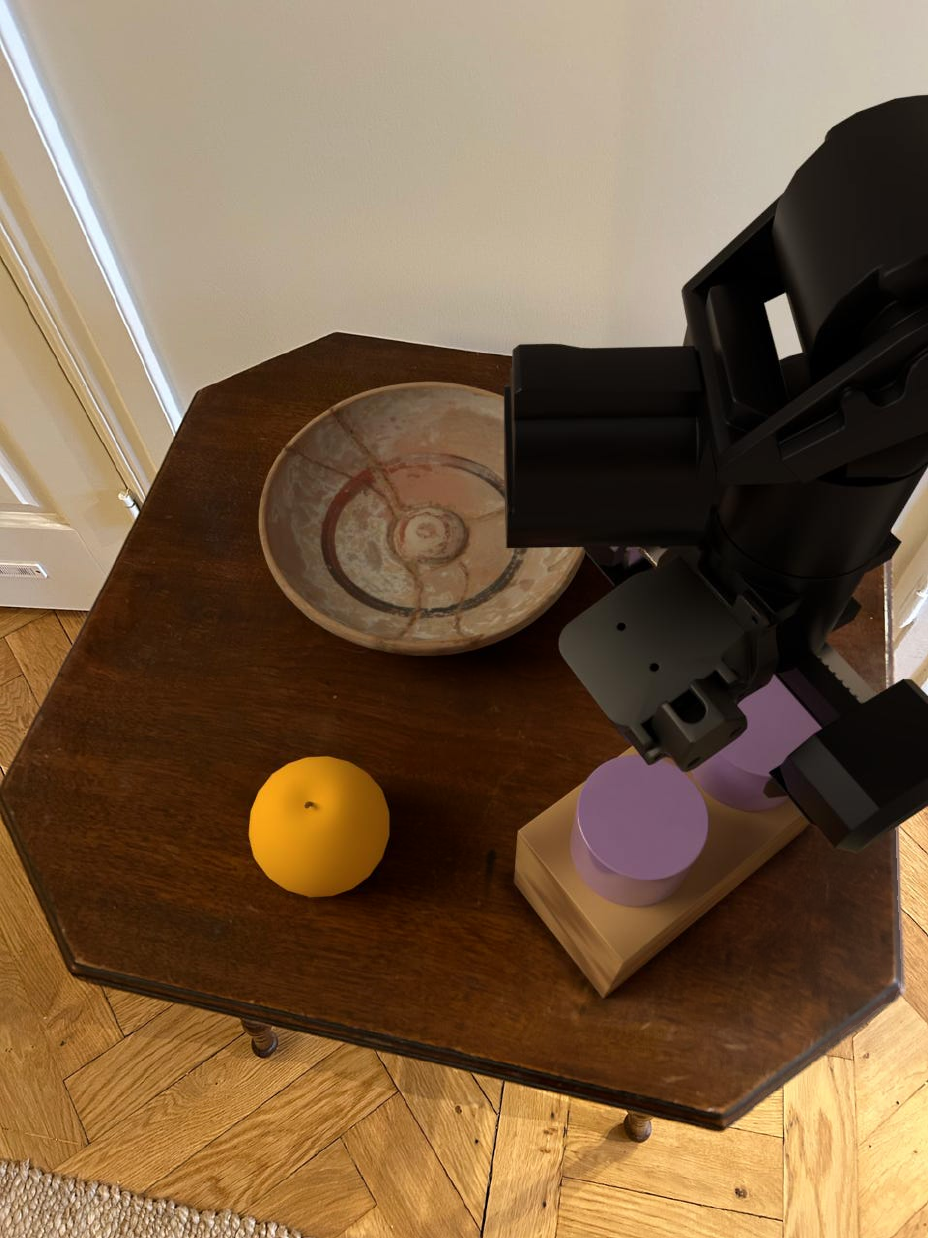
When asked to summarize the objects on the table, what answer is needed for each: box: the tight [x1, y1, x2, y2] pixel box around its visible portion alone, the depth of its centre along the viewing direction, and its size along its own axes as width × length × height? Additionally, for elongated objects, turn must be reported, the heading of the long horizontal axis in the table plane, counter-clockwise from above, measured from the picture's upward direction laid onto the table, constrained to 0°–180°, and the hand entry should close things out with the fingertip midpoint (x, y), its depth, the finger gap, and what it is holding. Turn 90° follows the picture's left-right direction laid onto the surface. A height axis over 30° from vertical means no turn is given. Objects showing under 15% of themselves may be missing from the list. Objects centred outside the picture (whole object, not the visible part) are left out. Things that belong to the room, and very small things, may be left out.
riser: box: [513, 745, 811, 999], centre depth 50 cm, size 8×16×9 cm, turn 126°
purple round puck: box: [691, 675, 822, 811], centre depth 46 cm, size 6×6×4 cm
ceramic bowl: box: [258, 381, 586, 657], centre depth 65 cm, size 23×24×5 cm
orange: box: [248, 755, 390, 898], centre depth 52 cm, size 8×8×8 cm
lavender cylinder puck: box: [570, 755, 709, 907], centre depth 43 cm, size 6×6×4 cm
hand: (710, 714), depth 44 cm, fingers open, 9 cm apart
